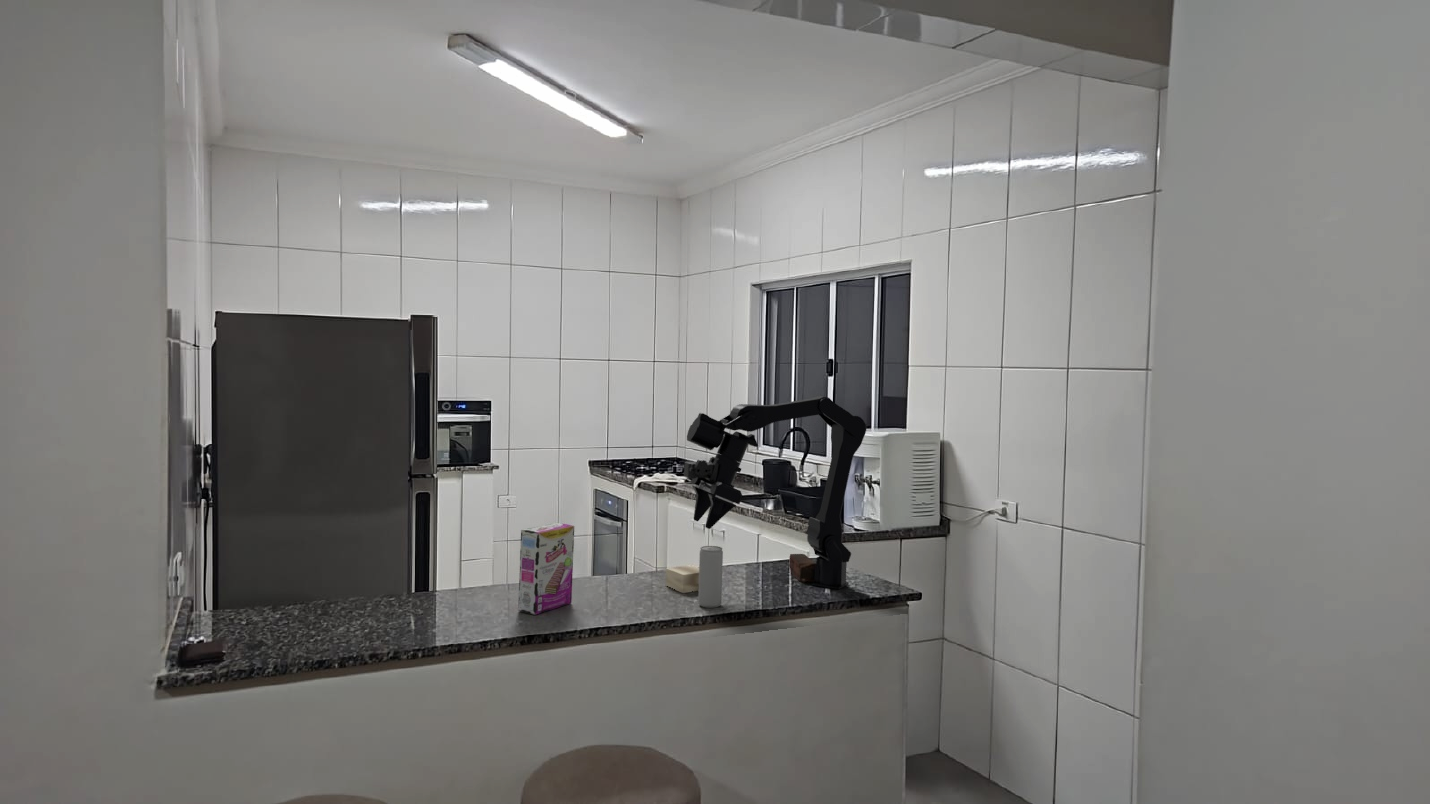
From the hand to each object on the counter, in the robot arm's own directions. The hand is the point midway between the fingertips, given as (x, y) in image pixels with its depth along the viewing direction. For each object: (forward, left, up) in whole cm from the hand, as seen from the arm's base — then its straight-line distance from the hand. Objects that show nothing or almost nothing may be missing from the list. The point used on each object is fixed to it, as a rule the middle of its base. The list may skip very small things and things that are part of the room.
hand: (701, 524), depth 193 cm
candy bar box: (+19, +29, -15) cm, 38 cm away
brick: (-13, -26, -15) cm, 33 cm away
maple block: (+4, -2, -15) cm, 16 cm away
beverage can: (-7, +8, -15) cm, 19 cm away
